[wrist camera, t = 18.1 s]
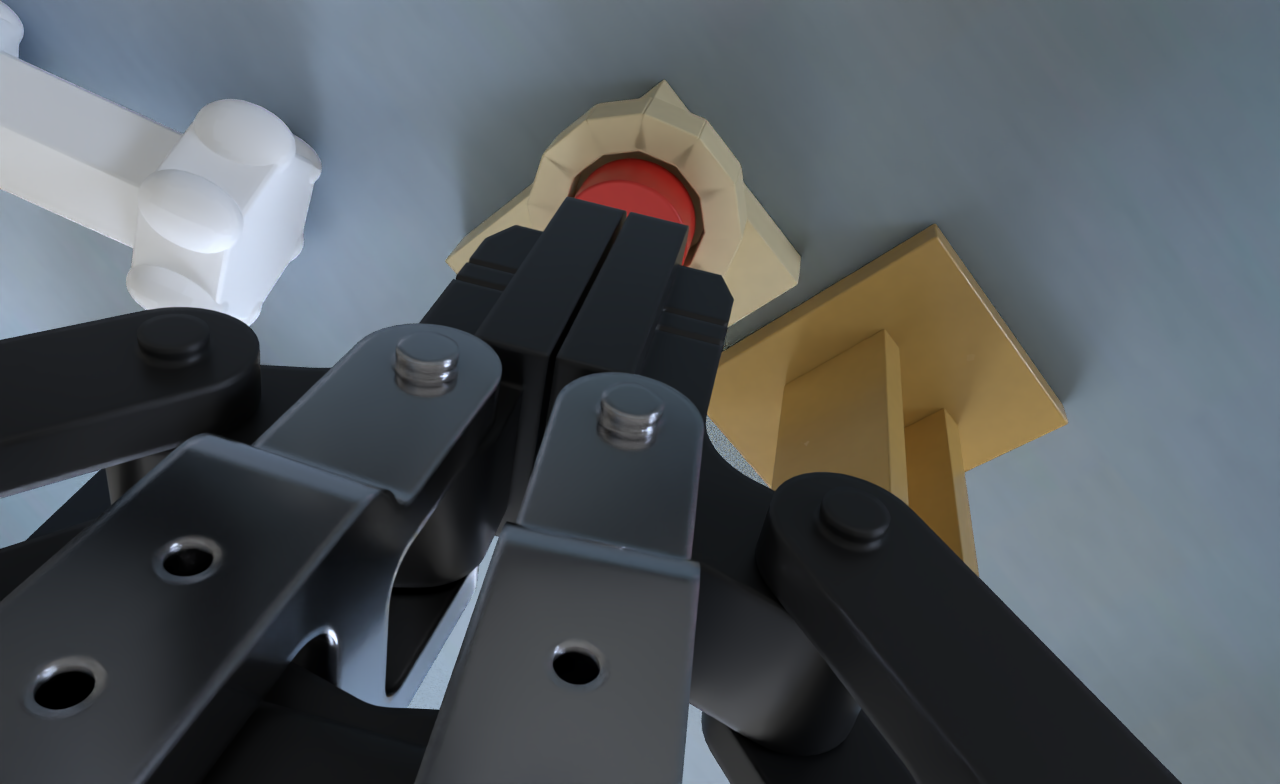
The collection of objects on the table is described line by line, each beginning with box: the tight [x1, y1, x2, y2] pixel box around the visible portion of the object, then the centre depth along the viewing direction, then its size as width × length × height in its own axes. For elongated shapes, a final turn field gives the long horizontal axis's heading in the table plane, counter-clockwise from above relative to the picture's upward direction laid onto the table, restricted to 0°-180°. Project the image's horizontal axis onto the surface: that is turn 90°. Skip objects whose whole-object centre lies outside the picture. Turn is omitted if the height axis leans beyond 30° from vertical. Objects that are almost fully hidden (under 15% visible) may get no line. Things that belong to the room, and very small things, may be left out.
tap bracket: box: [707, 224, 1068, 577], centre depth 33 cm, size 11×9×15 cm
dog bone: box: [0, 1, 322, 326], centre depth 35 cm, size 15×9×8 cm, turn 68°
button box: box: [445, 80, 801, 328], centre depth 35 cm, size 11×9×4 cm
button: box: [574, 158, 696, 266], centre depth 32 cm, size 4×4×2 cm
